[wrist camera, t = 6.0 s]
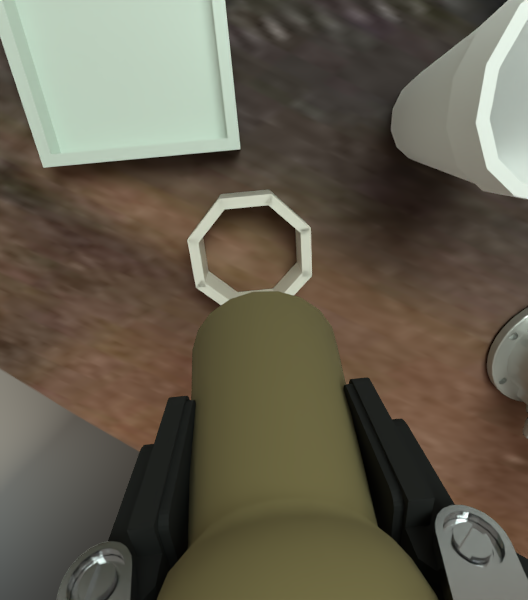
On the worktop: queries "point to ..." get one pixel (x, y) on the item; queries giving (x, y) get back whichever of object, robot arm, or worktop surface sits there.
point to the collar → (241, 200)
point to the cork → (280, 468)
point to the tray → (122, 77)
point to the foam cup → (473, 107)
